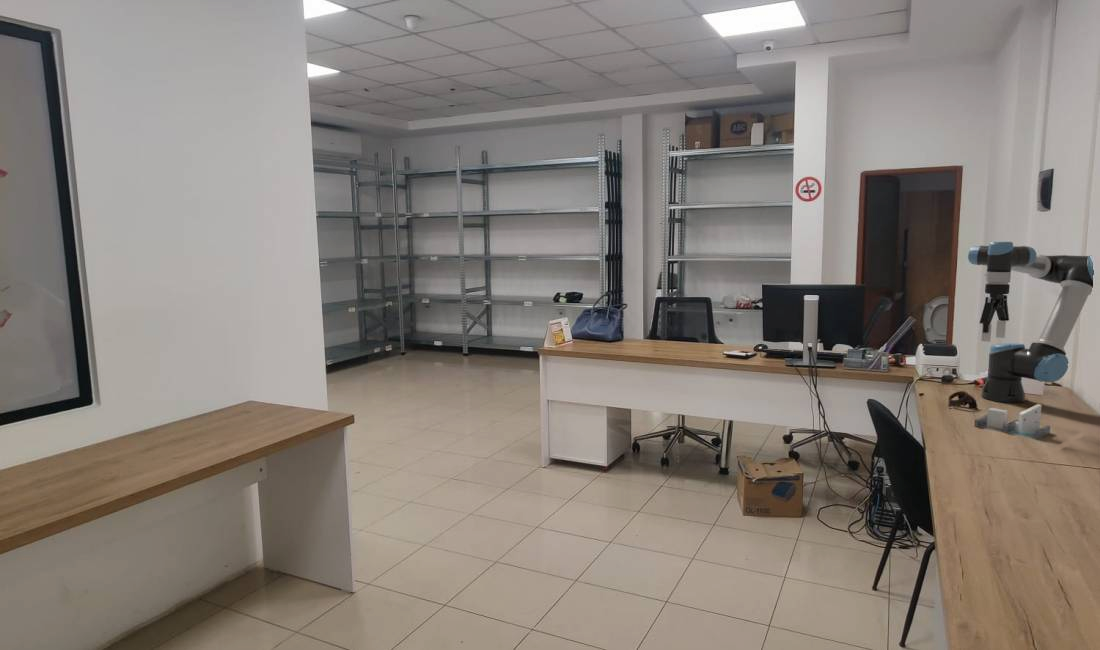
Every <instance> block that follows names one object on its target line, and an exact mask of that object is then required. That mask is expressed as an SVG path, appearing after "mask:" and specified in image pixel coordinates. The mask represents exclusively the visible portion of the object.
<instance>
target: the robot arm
mask: <svg viewBox="0 0 1100 650" xmlns="http://www.w3.org/2000/svg"><path fill="white" fill-rule="evenodd" d="M1090 256H1091V255H1066V254H1064V255H1063V254H1062V255H1059V254H1058V255H1044V254H1037V252H1036V250H1035V249H1034V248H1033V247H1030V246H1026V245H1020V246H1014V243H1013V242H1012V241H991V242H990V243H989V244H988V245H975V246H972V247H971V248H970V249H969V251H968V255H967V260H968V261H969V263H970V264H972V265H977V266H986V273H985V275H984V277H985V278H986V279H985V282H986V284H985V285H984V286H985V287H984V288H985V290H984V292H985V294H988V295H989V296H985V300H984V306H983V309H982V312H981V316H980V320H979V324H982V329H981V338H980V339H981V340H980V341H981V342H988V343H990V342H991V336H992V326H993V325H992V320H993V318H994V316H995V313H996V316H997V319H998V320H997V321H996V329H995V330H996V332H995V338H998V339H999V338H1001V339H1004V338H1005V337H1006V324H1007V321H1009V320H1010V317H1009V316H1010V315H1009V306H1008V295H1009V293H1010V288H1011V287H1010V286H1011V285H1010V284H1009V283H1011V278H1012V277H1011V276H1012V275H1011V273H1012V271H1013V272H1018V273H1021V274H1027V275H1028V276H1030V277H1031V278H1034V279H1039V280H1043V281H1045V282H1050V283H1055V284H1059V285H1060V286H1061V288H1062V289H1061V291H1060V294H1059V295H1058V297H1057V299H1056V302H1055V303H1054V306H1053V308H1052V310H1051V312H1050V315H1049V317H1048V319H1047V320H1046V322H1045V324H1044V327H1043V329H1042V331H1041V334H1040V336H1039V337H1038V340H1036V341H1033V342H1032V343H1031V344H1030V346H1029V347H1028V348H1026V347H1025V344H1023V343H1018V342H1017V343H1013V342H1012V343H1008V342H1007V343H994V344H993V345H991V346H990V347H989V348H990V349H989V353H988V355H989V356H988V367H987V368H988V370H987V378H986V381H985V383H984V385H983V388H982V390H981V391H980V393H981V395H980V396H981V398H983V399H985V398H986V400H990V401H993V402H1001V403H1011V404H1012V403H1015V404H1018V403H1024V402H1025V401H1026V394H1025V389H1024V386H1023V384H1022V383H1023V382H1022V380H1023V379H1022V378H1025V379H1028V380H1034V381H1039V382H1044V383H1045V382H1046V383H1055V382H1058V381H1059V380H1061V379H1062V378H1063V377H1064V376H1065V375H1066V373H1067V371H1068V368H1069V359H1068V357H1067V356H1066V355H1067V352H1066V350H1065V346H1066V344H1067V342H1068V340H1069V337H1070V335H1071V334H1072V331H1073V330H1074V327H1075V325H1076V323H1077V321H1078V319H1079V316H1080V315H1081V312H1082V311H1083V308H1084V305H1085V303H1086V302H1087V300H1088V297H1089V296H1091V295H1092V294H1091V292H1092V288H1093V275H1094V270H1093V262H1092V260H1091V258H1090ZM1090 294H1091V295H1090Z"/></svg>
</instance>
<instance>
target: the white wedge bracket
mask: <svg viewBox="0 0 1100 650" xmlns="http://www.w3.org/2000/svg"><path fill="white" fill-rule="evenodd" d="M1041 416H1042V404H1040V403H1036V404H1034V405H1033V406H1031V407H1029V408H1027V409H1025V410H1023V411H1021V412H1019V413H1018V420H1019V422H1015V430H1014V431H1016V432H1018V433H1020V434H1035V431H1037V430H1039V429H1041V428H1040V426H1041Z"/></svg>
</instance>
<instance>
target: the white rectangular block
mask: <svg viewBox="0 0 1100 650" xmlns="http://www.w3.org/2000/svg"><path fill="white" fill-rule="evenodd" d="M987 414H988V415H987ZM987 414H986V415H987V426H990V427H995V428H1000V429H1004V425H1006V424H1008V416H1009V410H1005V409H1000V408H996V407H990V408H988V409H987Z"/></svg>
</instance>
